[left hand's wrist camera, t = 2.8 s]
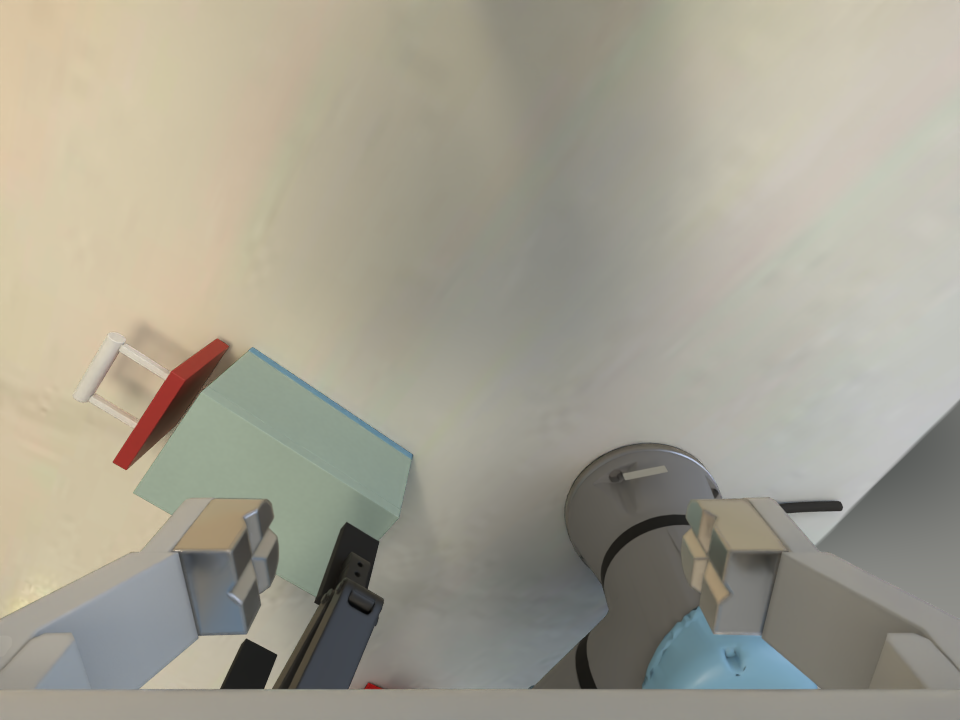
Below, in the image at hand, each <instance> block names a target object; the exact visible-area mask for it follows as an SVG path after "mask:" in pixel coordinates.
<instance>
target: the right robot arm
mask: <svg viewBox="0 0 960 720" xmlns="http://www.w3.org/2000/svg"><path fill="white" fill-rule="evenodd" d="M691 499H722V496H721V493H720V491H719V489H718V486H717V484H716V482H715V481H714V479H713V477H712V476H711V475H710V473H709V472H708V470H707V469H706V468H705V467H704V465H703V464H702V463H701V462H700V461H698V460H697V459H696V458H695V457H693V456H692V455H690V454H689V453H687V452H685V451H683V450H681V449H678V448H675V447H672V446H668V445H662V444H651V443H649V444H635V445H630V446H626V447H622V448H619V449H616V450H614V451H611V452H609V453H607V454H605V455H603V456H602V457H600V458H598V459H597V460H595V461H594V462H593V463H591V464H590V465H589V466H588V467H587V468H586V469H585V470H584V471H583V472H582V473H581V474H580V475H579V477H578V478H577V479H576V481H575V482H574V484H573V486H572V488H571V489H570V492H569V494H568V497H567V501H566V507H565V520H566V525H567V530H568V534H569V537H570V540H571V542H572V544H573V546H574V549H575V551H576V552H577V554H578V555H579V557H580V558H581V559H582V561H583V562H584V563H585V564H586V565H587V566H588V567H589V568H590V569H591V570H592V571H593V573H594V574H595V576H596V577H597V578H598V580H599V581H600V583H601V584H602V587H603V590H604V594H605V597H606V601H607V605H608V608H609V611H608V613H607V615H606V616H605V618H604V619H603V620H601V621H600V622H599V623H598V624H597V625H596V626H595V627H594V628H593V629H592V630H591V631H590V632H589V633H588V634H587V635H586V636H585V637H584V638H583V639H582V640H581V641H580V642H579V643H578V644H577V645H576V646H575V647H574V648H573V649H572V650H571V651H570V652H569V653H568V654H567V655H565V656H564V657H563V658H562V659H561V660H560V661H559V662H558V663H557V664H556V665H555V666H554V667H553V668H552V669H551V670H550V671H549V672H548V673H547V674H546V675H545V676H544V677H543V678H542V679H541V680H540V681H539V682H538V683H537V684H536V685H534V686H531V687H530V688H528V689H818V688H817V685H816V684H815V683H814V682H813V681H811V680H810V679H809V678H808V677H807V676H805V675H804V674H803V673H802V672H801V671H800V670H798V669H797V668H796V667H795V666H794V665H793V664H791V663H790V662H789V661H788V660H787V659H785V658H784V657H783V656H782V655H781V654H780V653H778V652H777V651H776V650H775V649H774V648H773V647H771V646H770V645H769V644H768V643H767V642H765V641H764V640H763V639H762V638H761V637H762V636H753V635H718V634H713V633H712V631H711V629H710V627H709V625H708V623H707V621H706V619H705V617H704V615H703V613H702V611H701V609H700V607H699V601H700V595H701V594H699V593H698V592H696V591H695V590H694V589H692V588H691V587H690V586H689V584H688V582H687V580H686V577H685V575H684V571H683V567H682V560H681V544H682V536H683V535H684V534H685V533H686V532H687V531H688V530H689V529H690V528H691V526H690V525H689V523H688V521H687V519H686V511H687V506H688V504H689V502H690V500H691ZM779 505H780V506H781V508H782V509H783V510H784V511H785V512H786V513H797V512H817V511H841V510H842V509H843V506H842V503H841V502H839V501H826V502H798V503H785V504H779ZM378 545H379V541H378V540H376V539H374V538H373V537H371V536H369V535H368V534H366V533H364V532H363V531H361V530H360V529H358V528H356V527H355V526H353V525H351V524H350V523H348V522H346V523H345V524H344V525H343V527H342V528H341V529H340V532H339V535H338V538H337V540H336V543H335V546H334V549H333V551H332V554H331V557H330V560H329V563H328V565H327V568H326V571H325V574H324V577H323V579H322V582H321V585H320V588H319V590H318V593H317V596H316V599H315V602H314V603H316V604H318V605H319V607H318V608H317V610H316V612H315V614H314V615H313V617H312V619H311V621H310V623H309V624H308V626H307V628H306V630H305V631H304V633H303V635H302V637H301V639H300V640H299V642H298V644H297V646H296V647H295V649H294V651H293V653H292V655H291V656H290V658H289V660H288V662H287V663H286V665H285V667H284V669H283V670H282V672H281V674H280V676H279V678H278V679H277V681H276V683H275V685H274V686H273V688H272V689H349V686H350V684H351V681H352V679H353V677H354V674H355V672H356V669H357V667H358V664H359V662H360V660H361V657H362V655H363V652H364V650H365V648H366V645H367V643H368V640H369V638H370V635H371V633H372V631H373V628H374V626H376V625H377V622H378V619H379V614H380V612H381V610H382V606H383V603H384V599H383V598H381V597H380V596H378V595H376V594H375V593H373V592H371V591H369V590H368V585H369V581H370V577H371V573H372V569H373V565H374V561H375V557H376V553H377V549H378ZM276 657H277V654H275V653H273V652H271V651H269V650H267V649H265V648H263V647H261V646H260V645H258V644H256V643H254V642H252V641H250V640H248V639H245V641H244V642H243V643H242V644H241V646H240V648H239V650H238V652H237V654H236V657H235V659H234V661H233V663H232V665H231V667H230V669H229V671H228V673H227V675H226V678H225V680H224V682H223V684H222V686H221V688H220V689H264V688H265V685H266V683H267V680H268V677H269V675H270V672H271V670H272V667H273V665H274V662H275V660H276Z"/></svg>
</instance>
